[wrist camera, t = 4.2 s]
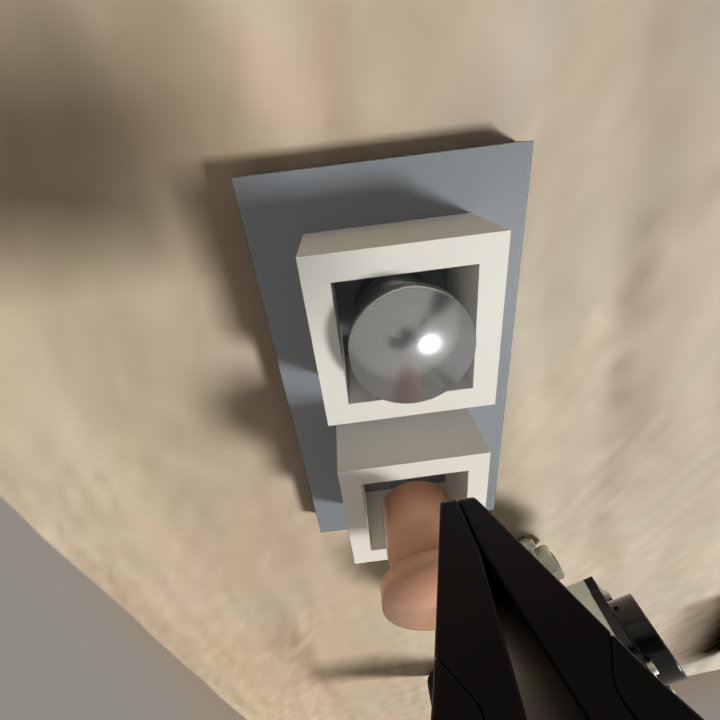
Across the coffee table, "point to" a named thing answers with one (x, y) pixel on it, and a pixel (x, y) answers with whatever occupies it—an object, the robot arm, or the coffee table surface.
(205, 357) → the coffee table surface
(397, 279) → the plug metal
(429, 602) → the plug terracotta
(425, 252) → the board
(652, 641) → the pneumatic valve
